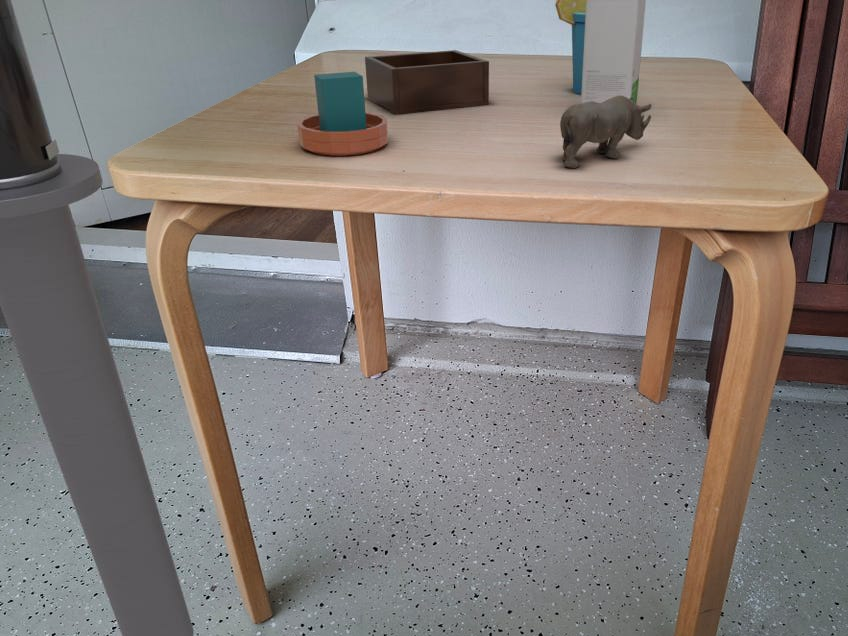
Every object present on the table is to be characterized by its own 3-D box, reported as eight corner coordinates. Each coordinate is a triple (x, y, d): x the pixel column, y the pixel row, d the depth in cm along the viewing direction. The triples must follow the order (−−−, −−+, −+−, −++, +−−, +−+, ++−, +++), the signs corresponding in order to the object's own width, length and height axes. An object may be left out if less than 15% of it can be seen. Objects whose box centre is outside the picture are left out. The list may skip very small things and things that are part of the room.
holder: (394, 114, 95) (391, 69, 93) (367, 98, 104) (364, 56, 101) (488, 104, 100) (489, 61, 98) (456, 90, 109) (455, 50, 106)
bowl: (313, 161, 77) (311, 136, 76) (291, 140, 84) (288, 116, 83) (400, 150, 81) (399, 126, 79) (371, 131, 88) (370, 108, 87)
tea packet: (328, 147, 80) (321, 79, 77) (321, 141, 83) (314, 74, 79) (367, 142, 82) (362, 75, 78) (359, 136, 84) (354, 71, 81)
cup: (617, 82, 114) (627, -28, 106) (650, 90, 108) (664, -25, 101) (541, 90, 108) (546, -25, 101) (572, 100, 103) (579, -21, 95)
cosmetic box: (628, 123, 91) (642, -19, 83) (575, 119, 93) (584, -20, 85) (637, 108, 98) (651, -24, 90) (587, 105, 100) (597, -25, 92)
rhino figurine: (663, 148, 82) (671, 91, 78) (574, 171, 74) (578, 109, 71) (635, 140, 84) (641, 85, 81) (546, 162, 77) (549, 102, 74)
